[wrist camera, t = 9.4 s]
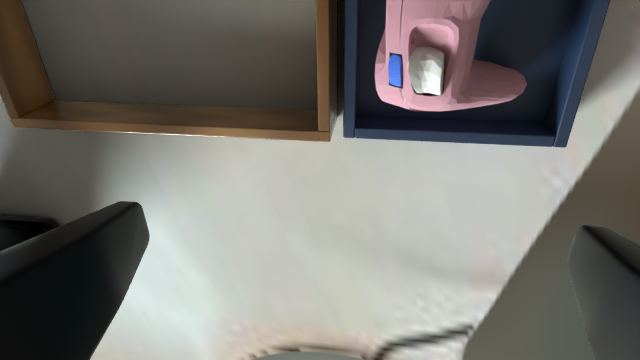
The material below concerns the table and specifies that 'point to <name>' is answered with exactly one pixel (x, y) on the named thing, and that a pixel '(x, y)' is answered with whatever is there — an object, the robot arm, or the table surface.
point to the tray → (492, 46)
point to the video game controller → (439, 58)
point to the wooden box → (238, 122)
